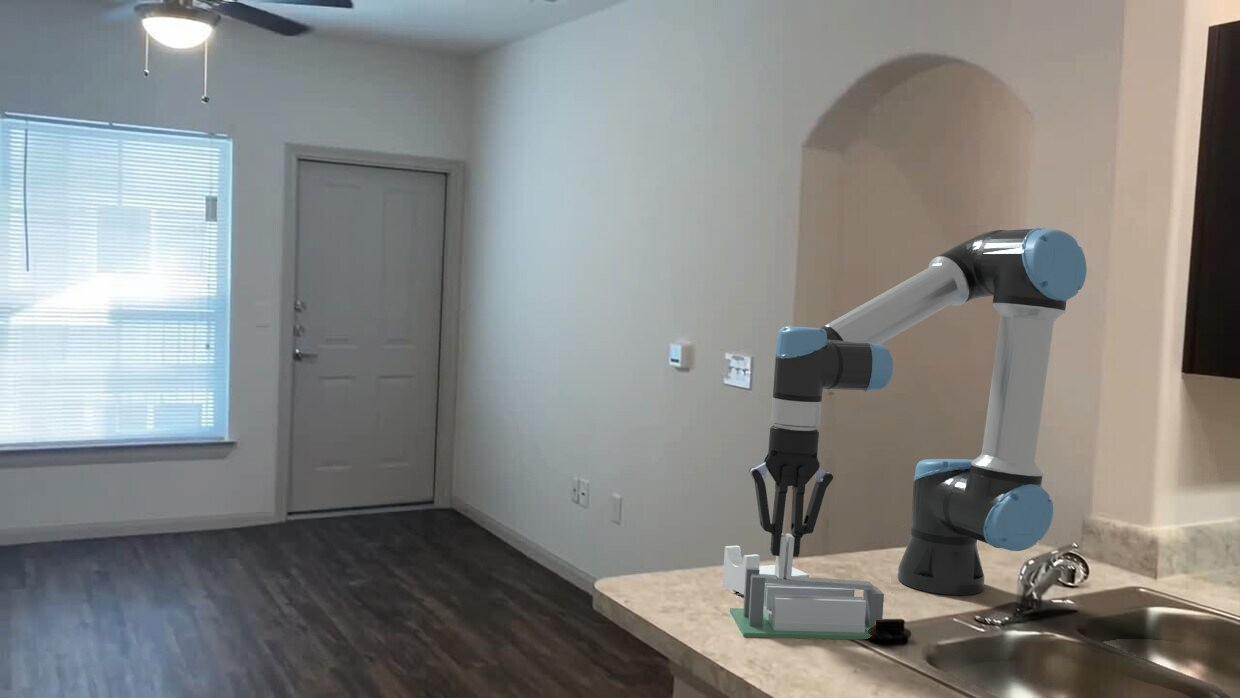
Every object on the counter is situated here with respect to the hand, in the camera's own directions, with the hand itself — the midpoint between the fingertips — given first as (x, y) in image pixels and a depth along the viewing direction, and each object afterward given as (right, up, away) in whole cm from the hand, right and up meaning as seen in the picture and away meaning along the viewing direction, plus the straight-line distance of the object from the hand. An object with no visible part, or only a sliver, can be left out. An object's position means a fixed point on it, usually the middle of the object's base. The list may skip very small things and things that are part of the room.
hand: (782, 576), depth 167 cm
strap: (+5, -1, +1) cm, 5 cm away
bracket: (0, -7, +19) cm, 21 cm away
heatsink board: (+4, -8, +1) cm, 9 cm away
